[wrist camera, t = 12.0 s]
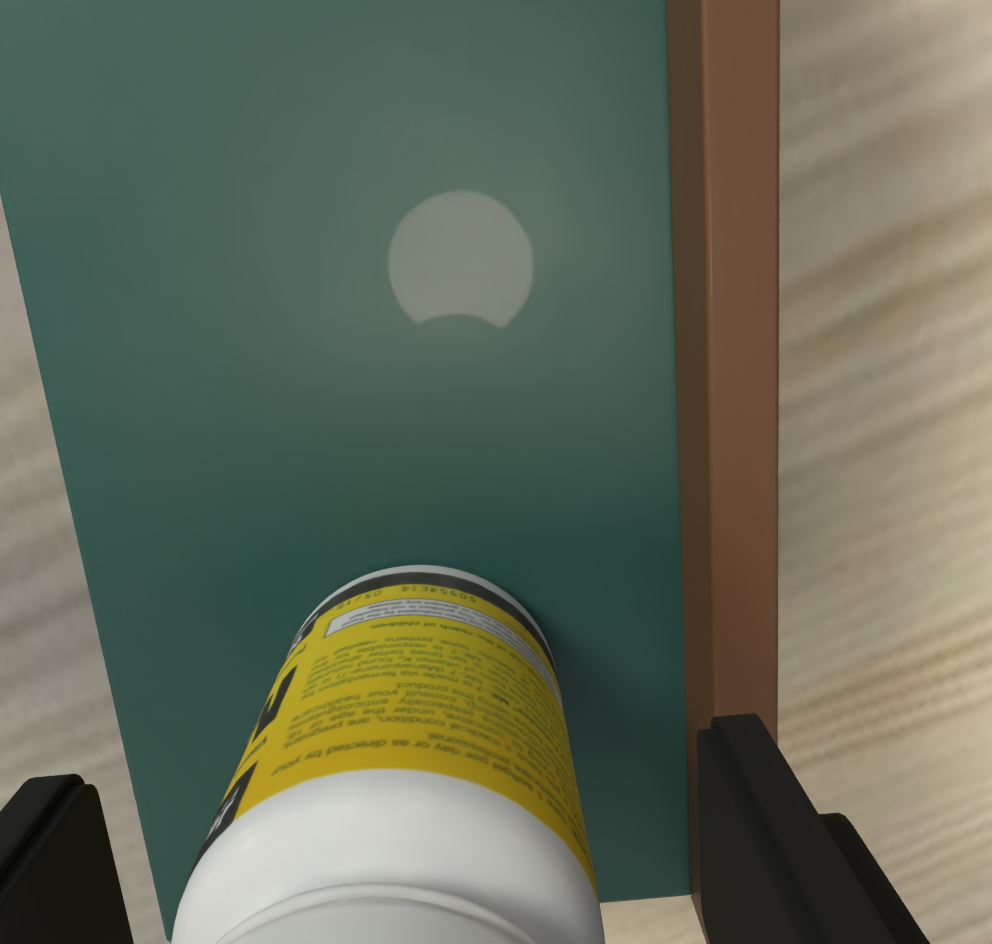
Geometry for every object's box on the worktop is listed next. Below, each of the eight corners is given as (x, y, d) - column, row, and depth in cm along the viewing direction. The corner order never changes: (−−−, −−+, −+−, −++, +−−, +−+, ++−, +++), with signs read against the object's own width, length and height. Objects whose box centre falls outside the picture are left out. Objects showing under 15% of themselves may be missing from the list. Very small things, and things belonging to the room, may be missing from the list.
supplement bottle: (275, 559, 14) (25, 972, 6) (557, 553, 15) (666, 953, 6) (296, 807, 16) (107, 1418, 8) (555, 801, 16) (645, 1395, 8)
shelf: (245, 759, 22) (125, 1038, 14) (61, -253, 16) (-303, -689, 9) (671, 722, 22) (778, 979, 14) (637, -300, 16) (785, -777, 9)
